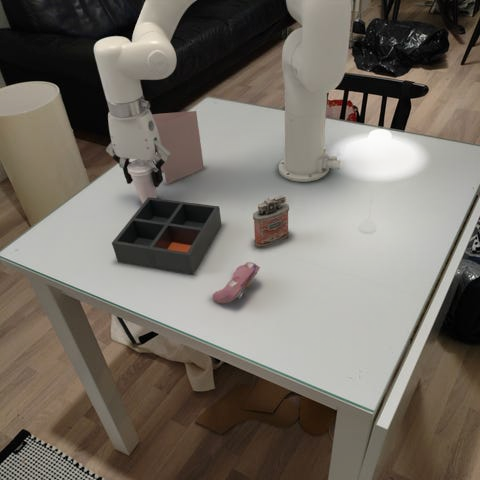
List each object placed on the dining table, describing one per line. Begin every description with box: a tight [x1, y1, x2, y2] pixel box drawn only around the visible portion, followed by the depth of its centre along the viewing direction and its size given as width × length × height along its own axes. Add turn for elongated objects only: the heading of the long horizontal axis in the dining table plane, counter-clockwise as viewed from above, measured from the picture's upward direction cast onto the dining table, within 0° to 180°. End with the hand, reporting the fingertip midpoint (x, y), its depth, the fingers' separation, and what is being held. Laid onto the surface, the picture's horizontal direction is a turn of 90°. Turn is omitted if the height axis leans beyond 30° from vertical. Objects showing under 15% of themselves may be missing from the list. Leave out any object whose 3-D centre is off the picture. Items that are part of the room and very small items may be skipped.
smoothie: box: [127, 159, 158, 205], centre depth 112 cm, size 6×6×14 cm
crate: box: [111, 197, 223, 276], centre depth 103 cm, size 17×17×5 cm
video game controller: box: [212, 261, 261, 304], centre depth 91 cm, size 10×5×7 cm, turn 148°
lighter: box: [252, 194, 290, 249], centre depth 99 cm, size 8×3×10 cm, turn 118°
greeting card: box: [152, 110, 205, 185], centre depth 119 cm, size 11×7×15 cm, turn 92°
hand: (144, 182), depth 113 cm, fingers closed on smoothie, 6 cm apart
